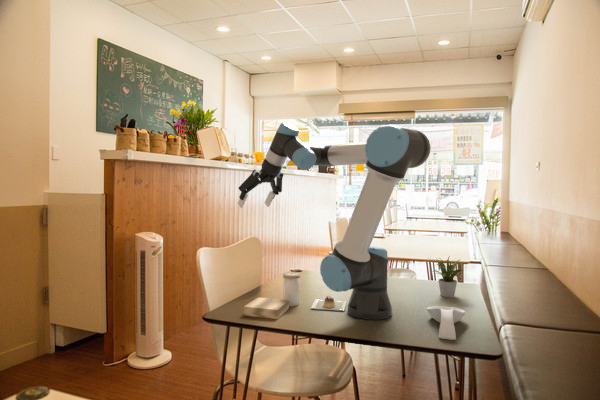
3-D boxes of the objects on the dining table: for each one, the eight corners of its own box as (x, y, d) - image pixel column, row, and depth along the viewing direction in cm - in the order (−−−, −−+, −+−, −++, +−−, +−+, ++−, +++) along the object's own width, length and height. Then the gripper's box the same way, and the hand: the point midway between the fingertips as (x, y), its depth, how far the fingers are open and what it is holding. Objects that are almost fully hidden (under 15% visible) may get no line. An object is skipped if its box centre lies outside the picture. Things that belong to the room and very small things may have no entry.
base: (288, 308, 144) (289, 300, 144) (277, 319, 133) (277, 310, 133) (257, 305, 148) (257, 297, 147) (243, 315, 136) (243, 306, 136)
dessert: (315, 301, 155) (315, 289, 155) (346, 303, 153) (346, 291, 153) (310, 311, 143) (310, 297, 143) (344, 313, 141) (344, 299, 141)
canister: (302, 302, 152) (302, 273, 152) (297, 307, 146) (297, 276, 146) (286, 300, 154) (286, 272, 154) (280, 305, 148) (280, 275, 148)
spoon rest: (426, 314, 140) (427, 293, 140) (463, 317, 137) (463, 296, 137) (426, 338, 118) (427, 313, 117) (470, 343, 114) (471, 318, 114)
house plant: (426, 299, 158) (427, 257, 158) (424, 290, 172) (425, 252, 171) (465, 301, 155) (466, 259, 154) (460, 292, 168) (461, 253, 168)
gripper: (292, 157, 165) (272, 199, 174) (242, 153, 147) (223, 200, 157) (302, 168, 161) (281, 210, 170) (253, 165, 143) (232, 212, 152)
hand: (253, 205), depth 163 cm, fingers open, 13 cm apart
